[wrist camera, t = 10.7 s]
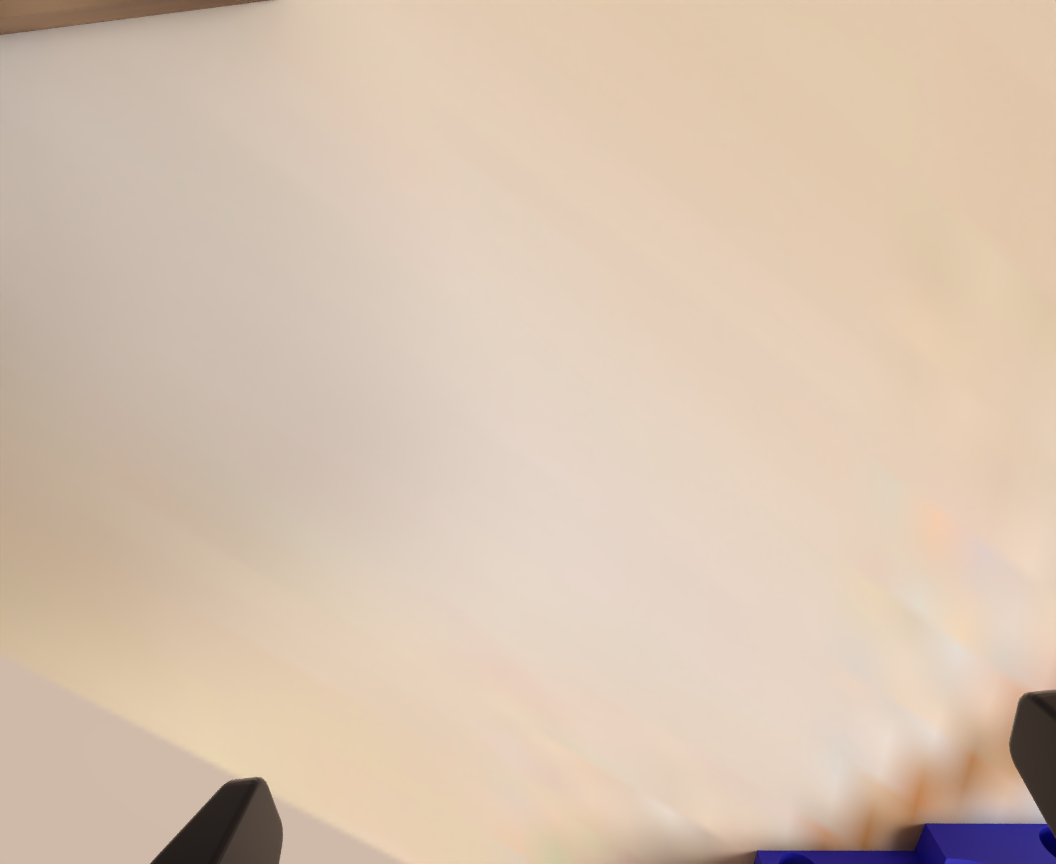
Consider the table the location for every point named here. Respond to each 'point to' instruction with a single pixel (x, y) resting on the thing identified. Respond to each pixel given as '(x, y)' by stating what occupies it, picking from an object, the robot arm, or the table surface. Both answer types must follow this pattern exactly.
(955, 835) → the blue bracket
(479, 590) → the table surface
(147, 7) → the gear board
